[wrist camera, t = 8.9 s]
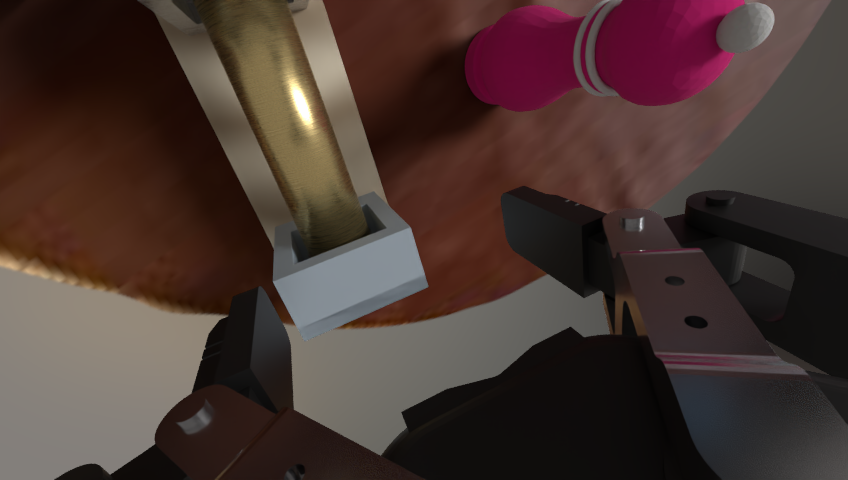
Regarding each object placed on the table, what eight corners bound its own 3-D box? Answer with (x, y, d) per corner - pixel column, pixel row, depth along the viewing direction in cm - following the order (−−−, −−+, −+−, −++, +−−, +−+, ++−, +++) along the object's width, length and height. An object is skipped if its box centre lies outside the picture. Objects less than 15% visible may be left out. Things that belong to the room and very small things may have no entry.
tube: (178, -35, 19) (151, -72, 15) (265, -52, 20) (262, -90, 16) (310, 253, 27) (315, 281, 23) (368, 231, 28) (382, 253, 24)
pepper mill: (463, 116, 32) (686, 138, 14) (453, 23, 29) (722, -94, 11) (531, 102, 34) (802, 106, 16) (529, 13, 31) (859, -100, 13)
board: (114, -74, 20) (106, -81, 20) (287, -102, 23) (287, -110, 22) (288, 272, 31) (288, 277, 30) (394, 230, 33) (397, 234, 32)
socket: (275, 227, 28) (272, 281, 20) (373, 191, 30) (410, 227, 22) (297, 273, 30) (304, 341, 22) (389, 237, 32) (428, 286, 24)
